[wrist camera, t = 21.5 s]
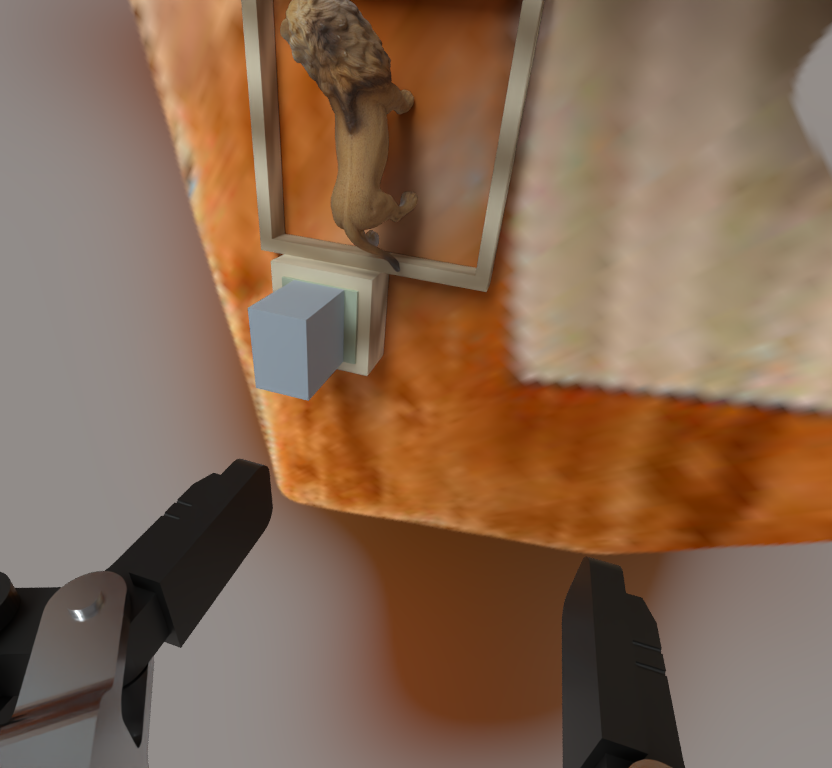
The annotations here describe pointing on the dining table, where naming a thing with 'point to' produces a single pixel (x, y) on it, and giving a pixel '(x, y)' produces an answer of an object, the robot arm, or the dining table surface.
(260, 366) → the fin block
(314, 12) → the lion figurine
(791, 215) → the dining table surface
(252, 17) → the grey rectangular frame
